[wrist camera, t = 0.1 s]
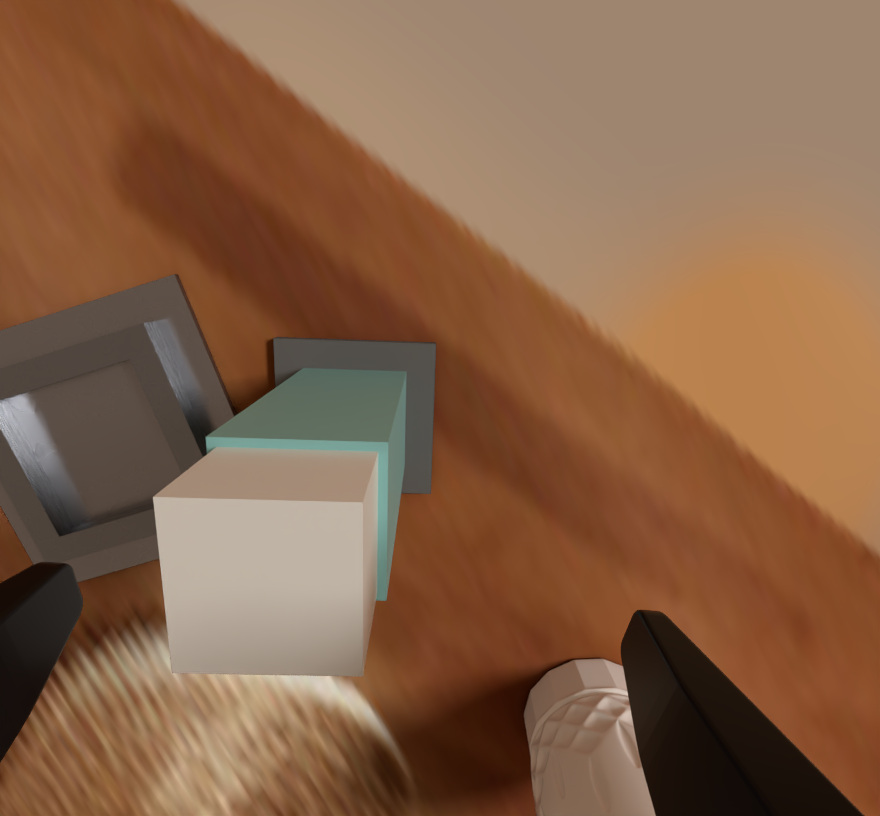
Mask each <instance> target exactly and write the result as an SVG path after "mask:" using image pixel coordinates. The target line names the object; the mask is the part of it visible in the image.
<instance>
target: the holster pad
mask: <svg viewBox="0 0 880 816" xmlns="http://www.w3.org/2000/svg"><path fill="white" fill-rule="evenodd" d="M273 343H274V367H275V388H276V387H277V386H279V385H280V384H281V383H283V382H284V381H286V380H287V379H289V378H290V377H291V376H293V375H294V374H296V373H297V372H299V371H300V370H301V369H303V368H316V369H346V370H377V371H406V419H405V466H404V475H403V482H402V490H401V493H422V494H431V471H432V442H433V414H434V385H435V357H436V343H432V342H403V341H375V340H346V339H317V338H288V337H276V338H273Z"/></svg>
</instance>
